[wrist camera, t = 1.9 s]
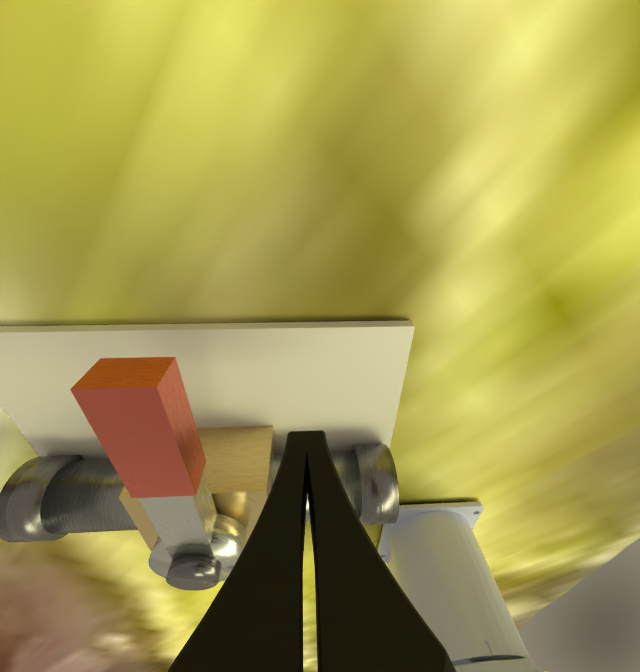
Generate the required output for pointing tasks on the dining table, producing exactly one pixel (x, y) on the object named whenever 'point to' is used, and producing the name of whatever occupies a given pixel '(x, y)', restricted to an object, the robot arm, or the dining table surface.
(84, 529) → the valve body
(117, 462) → the lever
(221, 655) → the robot arm
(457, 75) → the dining table surface
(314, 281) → the dining table surface
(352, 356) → the mounting board
